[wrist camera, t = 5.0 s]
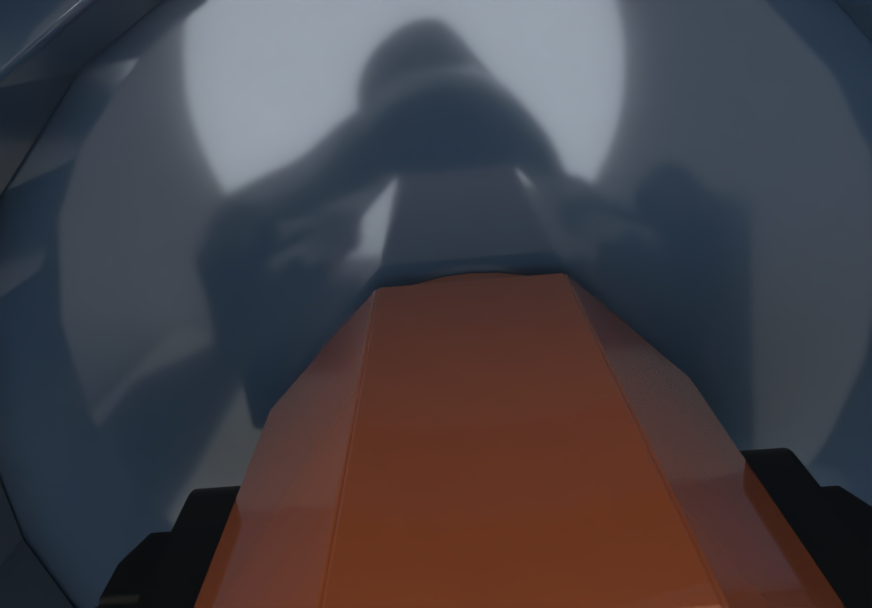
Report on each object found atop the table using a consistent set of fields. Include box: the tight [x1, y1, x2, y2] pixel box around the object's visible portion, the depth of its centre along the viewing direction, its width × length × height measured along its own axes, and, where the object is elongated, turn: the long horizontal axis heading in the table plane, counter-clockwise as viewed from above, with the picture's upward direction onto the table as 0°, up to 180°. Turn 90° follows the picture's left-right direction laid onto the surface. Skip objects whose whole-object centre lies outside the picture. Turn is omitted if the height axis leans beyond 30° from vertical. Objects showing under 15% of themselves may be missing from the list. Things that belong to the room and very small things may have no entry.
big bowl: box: [0, 0, 872, 608], centre depth 9 cm, size 17×17×4 cm
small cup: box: [194, 273, 846, 608], centre depth 8 cm, size 6×6×6 cm
